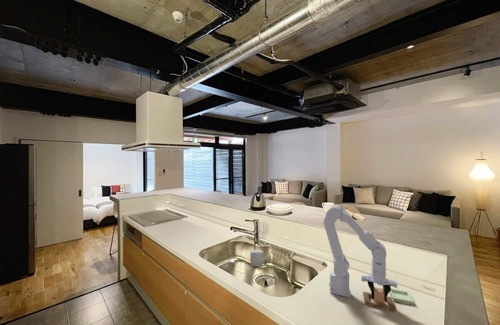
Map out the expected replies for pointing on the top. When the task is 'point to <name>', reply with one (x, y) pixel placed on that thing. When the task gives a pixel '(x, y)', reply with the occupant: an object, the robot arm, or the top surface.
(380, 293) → the block
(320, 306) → the top surface
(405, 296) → the tray
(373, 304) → the pocket board
